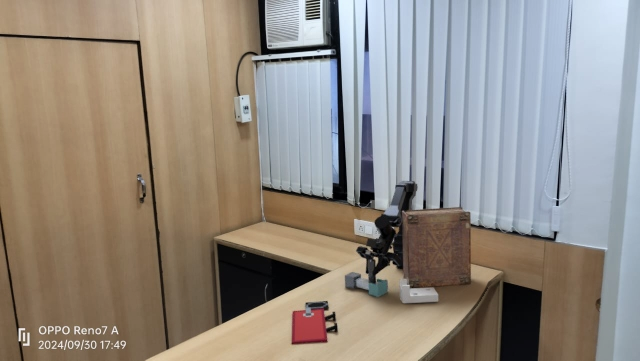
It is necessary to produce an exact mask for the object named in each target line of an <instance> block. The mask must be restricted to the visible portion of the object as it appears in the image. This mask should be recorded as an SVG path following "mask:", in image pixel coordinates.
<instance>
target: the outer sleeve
mask: <svg viewBox="0 0 640 361" xmlns="http://www.w3.org/2000/svg"><path fill="white" fill-rule="evenodd" d="M357 277H361V278H362V274H361V273H358V272H354V271H352V272H348V273H347V274H345V275H344V286H345V288H347V289H350V290H356V289H357V288H359V287H356V286H355V278H357Z"/></svg>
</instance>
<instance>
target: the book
mask: <svg viewBox="0 0 640 361" xmlns="http://www.w3.org/2000/svg"><path fill="white" fill-rule="evenodd" d="M471 218H472V217H471V212H470V211H469V210H468V211H465V210H463V207H462V206H458V207H457V206H455V207H440V208H439V207H437V208H424V209H423V208H422V209H420V208H419V209H411V210H405V211H402V232H403V269H402V270H403V279H406V280H407V285H410V289H413V288H437V287H448V286H449V287H450V286H464V285H471V283H472V282H471V280H472V276H471V274H472V273H471V272H472V266H471V265H472V262H471V261H472V257H471V256H472V253H471V252H472V251H471V250H472V249H471V248H472V245H471V239H472V238H471V236H472V235H471V230H472V229H471V226H472V225H471V221H472V219H471Z"/></svg>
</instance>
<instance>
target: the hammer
mask: <svg viewBox="0 0 640 361" xmlns="http://www.w3.org/2000/svg"><path fill="white" fill-rule="evenodd" d="M376 261H377V260H376V259H375V258H374V259H369V260H368V274H367V277H368V278H365V277H362V276H361V277H357V278H355V286H356V287H358V288H360V289H364V290H367V291H369V283H373V284H378V283H380V282H377V274H376V275H375V276H373V272H374V269H375V267H376V265H377V263H376Z"/></svg>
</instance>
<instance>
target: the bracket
mask: <svg viewBox="0 0 640 361" xmlns="http://www.w3.org/2000/svg"><path fill="white" fill-rule="evenodd" d="M398 280H399V282H398V285H399V286H398V287H399V289H398V290H399V299H400V301H401V303H402V304H416V303H418V304H419V303H437V302H439V293H438V292H437V290H436V289H435V287H423V288H410V285H407V280H406V279H404V278H399V279H398Z"/></svg>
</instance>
